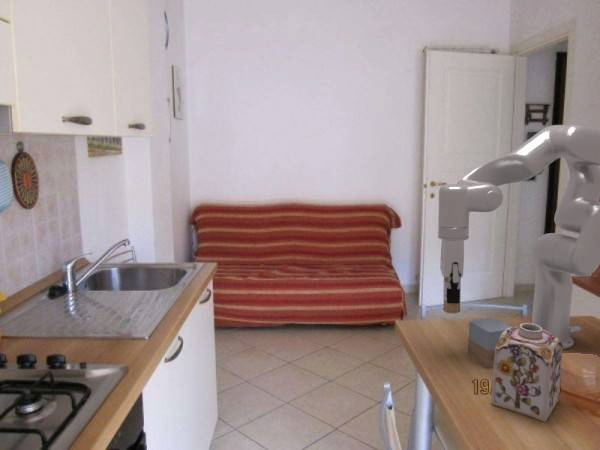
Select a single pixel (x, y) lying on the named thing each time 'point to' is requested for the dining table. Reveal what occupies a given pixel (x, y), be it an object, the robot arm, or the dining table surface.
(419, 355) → the dining table surface
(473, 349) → the walnut base block
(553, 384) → the decorative jar
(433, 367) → the dining table surface
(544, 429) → the dining table surface
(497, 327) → the slate top block
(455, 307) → the sprinkles bottle
